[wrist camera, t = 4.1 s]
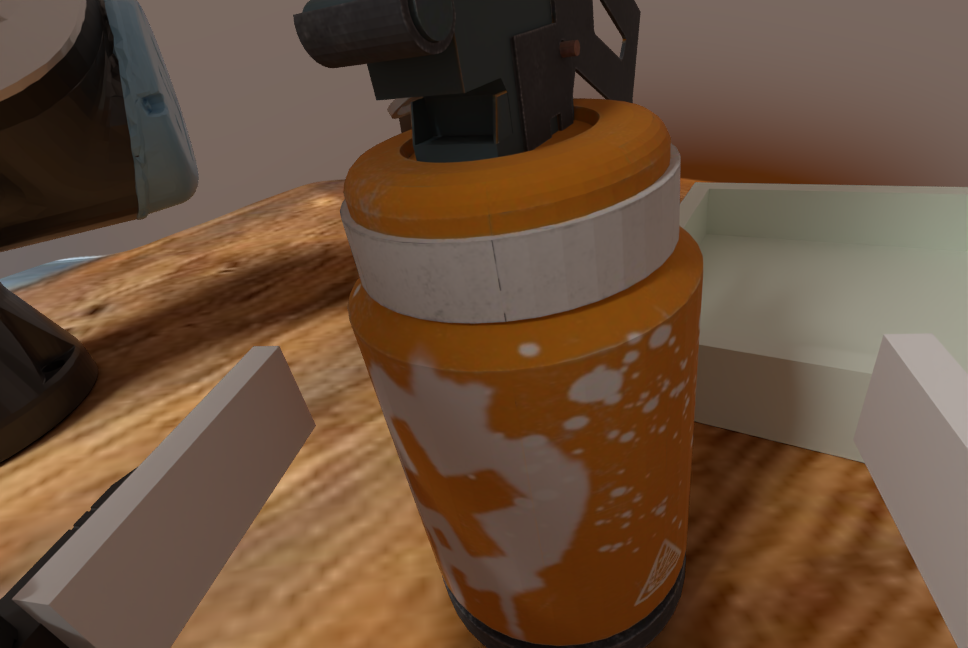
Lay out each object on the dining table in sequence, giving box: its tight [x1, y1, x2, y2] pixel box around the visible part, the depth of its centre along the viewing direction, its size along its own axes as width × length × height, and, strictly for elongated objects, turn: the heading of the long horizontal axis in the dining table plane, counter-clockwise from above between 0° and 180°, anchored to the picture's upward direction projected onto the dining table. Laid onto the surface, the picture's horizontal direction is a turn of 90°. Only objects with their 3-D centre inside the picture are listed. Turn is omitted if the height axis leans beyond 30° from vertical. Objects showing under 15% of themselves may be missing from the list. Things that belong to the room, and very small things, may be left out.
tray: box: [679, 182, 968, 463], centre depth 28 cm, size 20×20×4 cm
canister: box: [293, 0, 703, 648], centre depth 16 cm, size 9×11×20 cm
